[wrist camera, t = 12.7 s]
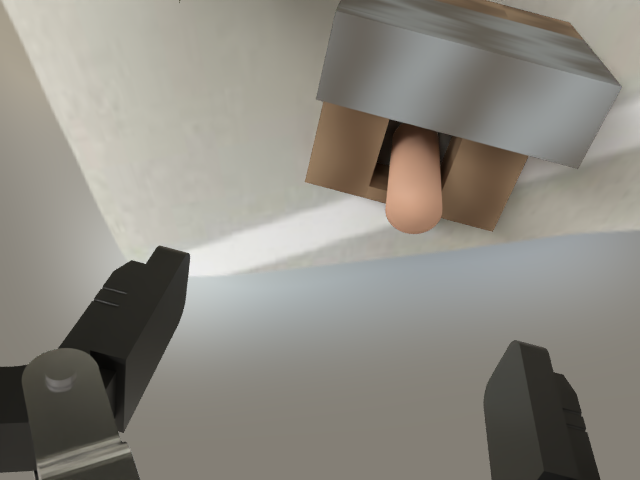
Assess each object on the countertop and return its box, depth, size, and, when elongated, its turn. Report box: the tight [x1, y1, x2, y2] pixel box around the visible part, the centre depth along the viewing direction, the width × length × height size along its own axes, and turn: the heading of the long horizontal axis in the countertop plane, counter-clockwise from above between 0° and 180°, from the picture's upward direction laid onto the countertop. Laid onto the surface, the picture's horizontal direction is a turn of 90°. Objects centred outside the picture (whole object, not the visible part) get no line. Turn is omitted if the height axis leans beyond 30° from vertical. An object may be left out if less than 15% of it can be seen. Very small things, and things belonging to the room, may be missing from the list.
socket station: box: [305, 0, 622, 232], centre depth 37 cm, size 14×14×12 cm
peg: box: [385, 123, 442, 234], centre depth 40 cm, size 3×3×10 cm
